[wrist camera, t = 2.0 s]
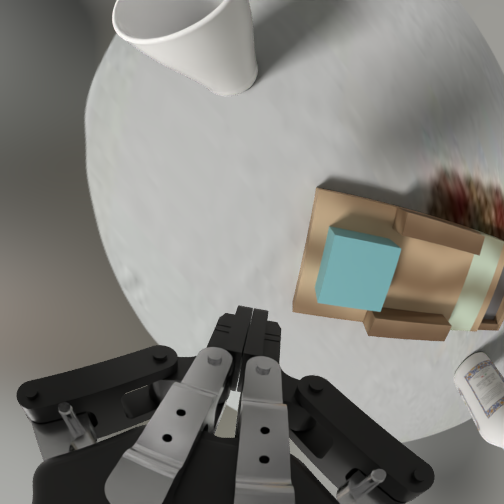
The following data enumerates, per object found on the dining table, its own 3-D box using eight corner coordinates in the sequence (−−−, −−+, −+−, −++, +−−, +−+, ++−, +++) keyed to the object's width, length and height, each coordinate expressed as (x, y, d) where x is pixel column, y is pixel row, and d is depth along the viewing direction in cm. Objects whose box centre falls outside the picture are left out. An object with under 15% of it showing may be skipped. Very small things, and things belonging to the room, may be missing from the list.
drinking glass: (210, 39, 20) (143, -44, 6) (275, 52, 20) (260, -48, 6) (187, 96, 23) (90, 46, 8) (253, 112, 23) (208, 50, 8)
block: (329, 226, 23) (334, 234, 20) (389, 238, 23) (401, 248, 20) (314, 287, 25) (317, 303, 22) (371, 296, 25) (380, 311, 22)
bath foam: (474, 379, 29) (518, 463, 10) (446, 386, 30) (487, 482, 11) (491, 347, 27) (548, 432, 8) (463, 353, 28) (520, 452, 9)
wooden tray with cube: (316, 187, 24) (322, 192, 20) (522, 248, 22) (542, 259, 18) (292, 302, 28) (292, 325, 24) (493, 325, 26) (508, 341, 22)
